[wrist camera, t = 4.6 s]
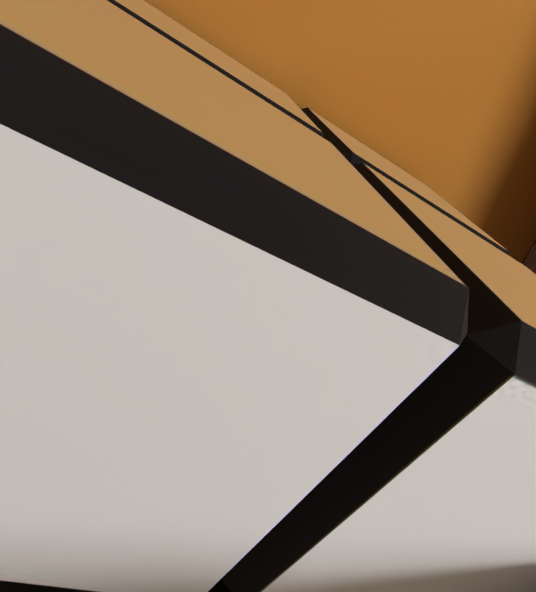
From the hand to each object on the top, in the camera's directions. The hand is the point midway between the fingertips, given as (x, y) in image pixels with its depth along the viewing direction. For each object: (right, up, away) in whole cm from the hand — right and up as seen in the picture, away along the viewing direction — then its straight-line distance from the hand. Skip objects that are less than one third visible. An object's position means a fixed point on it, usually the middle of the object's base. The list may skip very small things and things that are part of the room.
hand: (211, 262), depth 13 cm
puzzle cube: (0, +1, +1) cm, 1 cm away
